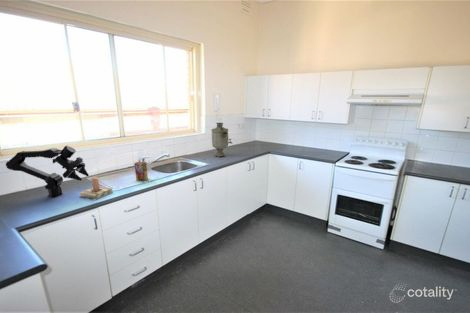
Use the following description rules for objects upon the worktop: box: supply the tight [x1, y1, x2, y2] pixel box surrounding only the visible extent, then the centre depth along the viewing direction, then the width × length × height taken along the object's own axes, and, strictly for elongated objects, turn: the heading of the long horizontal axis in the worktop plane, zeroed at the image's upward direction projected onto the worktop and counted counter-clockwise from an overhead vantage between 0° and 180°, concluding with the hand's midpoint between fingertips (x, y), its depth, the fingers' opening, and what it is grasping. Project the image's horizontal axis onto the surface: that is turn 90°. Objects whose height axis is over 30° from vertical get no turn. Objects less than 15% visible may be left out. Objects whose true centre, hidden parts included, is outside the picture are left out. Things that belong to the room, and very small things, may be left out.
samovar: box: [211, 122, 233, 159], centre depth 274 cm, size 30×26×40 cm
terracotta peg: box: [91, 177, 100, 192], centre depth 163 cm, size 4×4×12 cm
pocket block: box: [79, 185, 114, 200], centre depth 164 cm, size 14×14×3 cm
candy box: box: [134, 160, 149, 181], centre depth 193 cm, size 9×4×15 cm, turn 104°
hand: (85, 177), depth 160 cm, fingers open, 9 cm apart
